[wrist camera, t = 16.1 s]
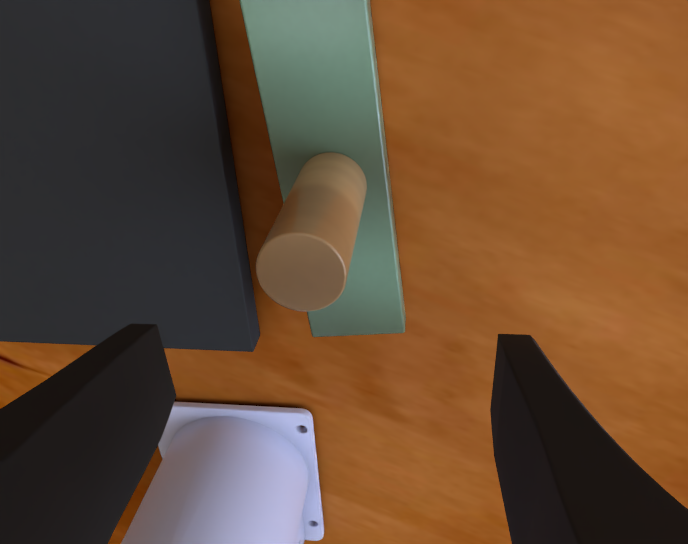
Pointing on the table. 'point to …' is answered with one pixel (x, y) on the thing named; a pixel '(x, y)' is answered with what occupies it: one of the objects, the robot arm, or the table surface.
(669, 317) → the table surface
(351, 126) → the brush
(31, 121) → the mat
